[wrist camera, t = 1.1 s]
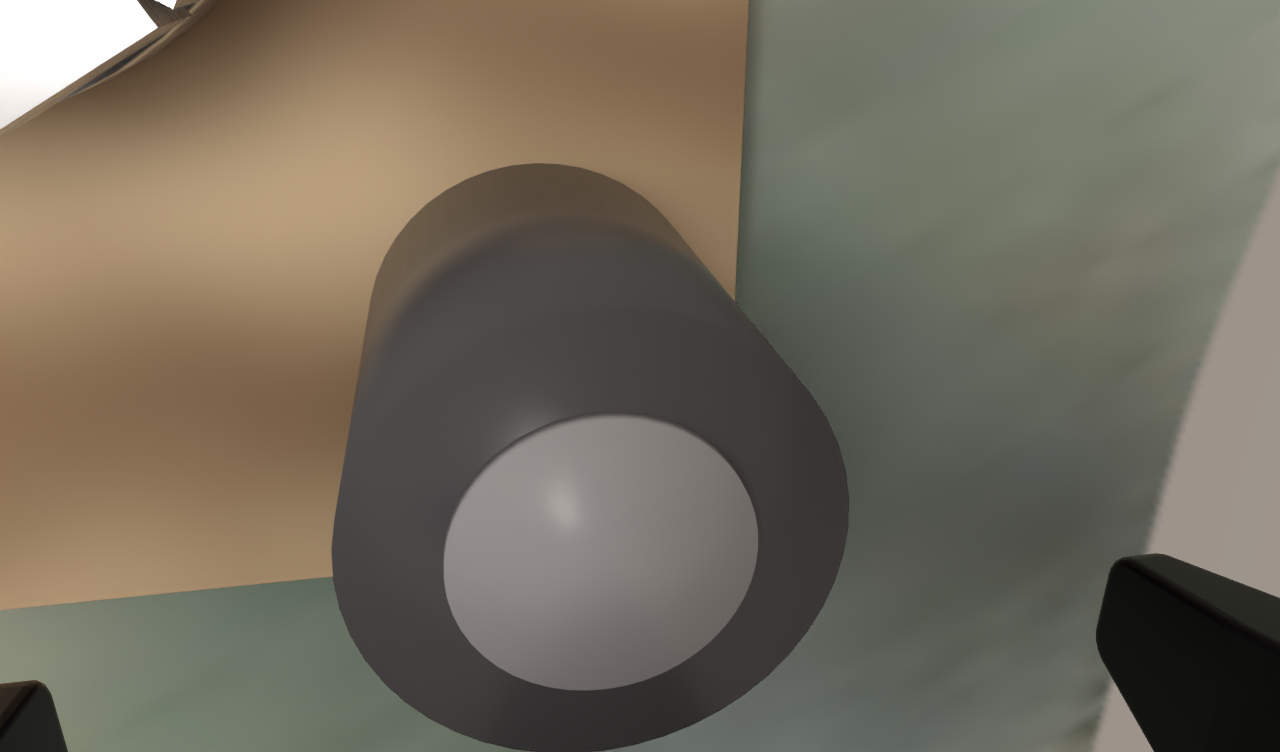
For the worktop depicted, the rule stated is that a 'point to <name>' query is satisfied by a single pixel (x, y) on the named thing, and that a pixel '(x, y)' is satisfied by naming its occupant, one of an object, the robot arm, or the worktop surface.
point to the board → (291, 253)
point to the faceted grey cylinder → (79, 46)
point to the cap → (575, 473)
